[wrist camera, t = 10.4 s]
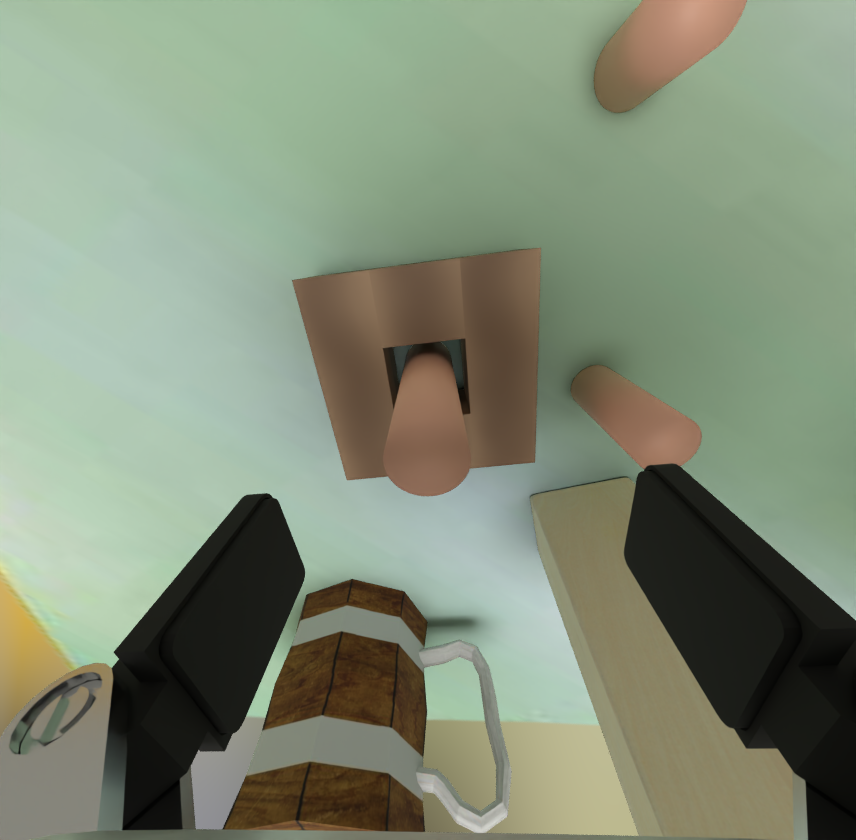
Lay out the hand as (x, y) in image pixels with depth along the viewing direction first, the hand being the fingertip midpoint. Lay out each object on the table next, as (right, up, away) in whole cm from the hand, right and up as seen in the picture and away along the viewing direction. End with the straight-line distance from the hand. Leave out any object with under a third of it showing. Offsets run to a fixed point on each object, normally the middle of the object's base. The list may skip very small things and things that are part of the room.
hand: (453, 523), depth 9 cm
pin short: (+9, +19, +7) cm, 22 cm away
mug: (-4, -18, +26) cm, 32 cm away
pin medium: (+11, +5, +14) cm, 18 cm away
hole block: (-1, +7, +13) cm, 15 cm away
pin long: (-1, +7, +13) cm, 15 cm away
